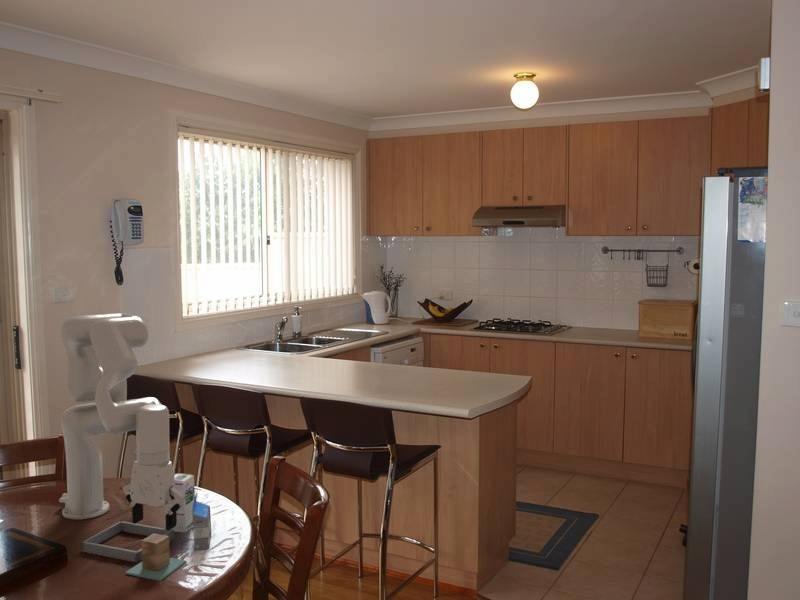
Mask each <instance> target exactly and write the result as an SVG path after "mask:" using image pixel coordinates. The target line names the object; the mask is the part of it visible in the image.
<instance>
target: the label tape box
mask: <svg viewBox="0 0 800 600" xmlns="http://www.w3.org/2000/svg"><path fill="white" fill-rule="evenodd" d="M197 496H198V492H195V498H194V501H193V506H192V516H193V527H192V529H193V530H192V531H193V532H192V533H193V534H192V535H193V548H194V549H193V550H194V551H201V550H202V551H203V550H209V549H210V547H211V546H210V545H211V538H212V522H211V521H212V518H211V506H210V505H209V504H205V503H203V502H199V501H197V498H198V497H197ZM194 502H195V503H194Z"/></svg>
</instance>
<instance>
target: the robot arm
mask: <svg viewBox="0 0 800 600" xmlns="http://www.w3.org/2000/svg"><path fill="white" fill-rule="evenodd" d="M60 331H61V332H60V335H61V340H62V343H63V346H64V349H65V352H66V358H67V360H66V361H67V362H66V368H67V369H66V385H67V386H66V388H67V391H66V392H67V396H68V398H69V400H71V401H72V402H75V403H83V404H78V405H73V406H71V407H68V408H66V409H64V411H63V412H62V414H61V416H60V427H61V430H62V435H63V441H64V450H65V462H66V463H65V466H66V467H65V468H66V486H67V487H66V488H67V489H66V490H67V493H66V492H64V493H62V494H61V497H60V498H59V499H58V502H59V503H63V504H64V505H65V506H64V508H63V509H62V510H61V513H62V514H61V515H62V516H63V518H66V519H69V520H87V519H88V520H89V519H91V518H96V517H99V516H102V515H104V514H106V513H107V512H108V511H109V510H110V503H109V502H108V501H106V500H104V479H103V476H104V475H103V454H102V453H103V451H102V450H101V447H100V445H98V443H96V442H95V441H94V440H93V438H94V437H98V436H103V435H107V434H122V433H123V434H124V433H128V432H132V431H135V435H136V437H135V439H136V440H135V441H136V443H135V444H136V445H135V446H136V448H135V449H134V450H133V454H134V455H135V456H136V460H135V461H134V462H133V466H132V469H131V477H130V483H129V484H126V485H125V486H123V487H122V489H123V492H124V495H125V499H126V500H127V502H128V503H129V507H130V508H131V518H132V519H131V520H132V521H131V523H133V524H138V523H140V522H141V521H143V520H144V506H149V507H156V508H164V509H165V511H166V514H165V529H166V530H168V531H169V530H170V529H172V528H174V527H175V526H176V523H177V512H176V511H178V510H179V509H180V508H181V507H182V505H183V503H184V501H185V498H186V497H185V496H184V495H183V494H182V493H180V492H179V491H178V490H176V489H175V478H174V475H175V472H174V467H173V463H172V461H171V459H170V458H171V457H170V454H171V453H170V447H171V446H170V444H171V443H170V411H169V408H168V406H166V405H163V404H162V403H161V402H160V400H159V399H158V398H156V397H151V396H147V397H141V398H133V399H132V398H131V399H127V397H128V390H127V389H128V384H127V383H128V380H127V379H128V378H130V377H132V376H133V374H134V373H135V372H136V371H137V369H138V365H139V363H138V360H137V358H136V356H135V352H134V350H133V349H134V348H135V349H136V348H141V347H144V346H145V345H146V344H147V343H148V339H149V330H148V326H147V324H146V323H145V321H144V320H143V319H142V318H141V317H139V316H138V315H133V314H130V313H125V312H120V313H119V312H118V313H117V312H114V313H113V312H112V313H103V314H102V313H101V314H86V315H85V314H84V315H77V316H72V317H68V318H66V319H65V320H64V321H63V323H62V325H61V328H60ZM94 401H95V402H94ZM87 402H90V403H87ZM175 498H176V499H177V502H176V503H175V501H174V500H175ZM169 503H170V505H171V506H172V508H171V507H170V506H169ZM167 513H168V514H167Z"/></svg>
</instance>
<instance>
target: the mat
mask: <svg viewBox="0 0 800 600" xmlns="http://www.w3.org/2000/svg"><path fill="white" fill-rule="evenodd" d="M186 564H187V560H186V559H181V558H180V559H179V558H175V557H170V564H168V565H167V566H165V567H164V568H162V569H161V570H159V571H158V572H157V571H152V570H147V569H142V561H139V562H138V563H137V564H136V565H134V566H133V567H131V568H129V569H128V570H127V571H125V575H130V576H135V577H138V578H139V577H140V578H144V579H148V580H149V579H150V580H154V581H159V582H161V581H162V580H163V579H165V578H167V577H168V576H170V575H171V574H172V573H174V572H176V571H177V570H178V569H180V568H182V566H183V565H186Z"/></svg>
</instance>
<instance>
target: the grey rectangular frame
mask: <svg viewBox="0 0 800 600" xmlns="http://www.w3.org/2000/svg"><path fill="white" fill-rule="evenodd" d="M121 532H124V533H128V534H136V535H141V536H147V537H148V536H150V535H152V534H154V533H155V534H160V535H166V536H169V543H171V542H172V541H174V540H175V532H174V530H169V531H168V530H166V528H164V527H158V526H153V525H146V524H141V523H136V524H133V523H132V522H130V521H123V520H120V521H118V522H116V523H114V524H113V525H110V526H109V527H107V528H105V529H103V530H101V531H99V532H98V533H96V534H94V535H92V536H91V537H89V538H87V539H85V540H83V541H81V543H80V545H81V546H80V547H81V552H82V553H85V552H87V553H86V554H91V553H92V554H91V555H96V554H97V556H101V555H102V556H103V557H106V558H113V559H117V560H123V561H128V562H133V563H137V564H139V563H140V562H142V547H140V549H138V550H137V551H136V550H132V549H126V548H121V547H116V546H111V545H106V544H101V543H103V542H104V541H107V540H108V539H110V538H112V537H113V536H115V535H117V534H119V533H121Z"/></svg>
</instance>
